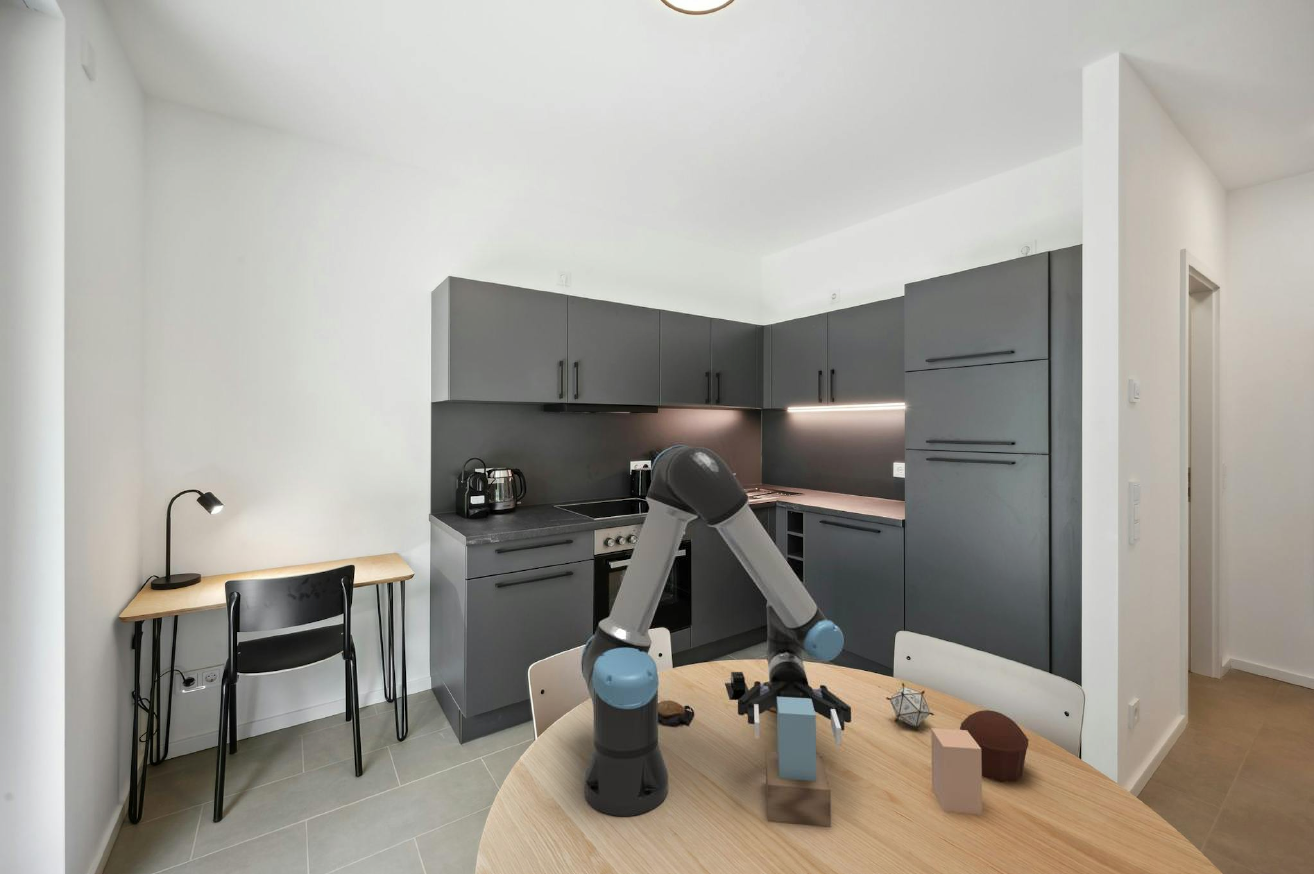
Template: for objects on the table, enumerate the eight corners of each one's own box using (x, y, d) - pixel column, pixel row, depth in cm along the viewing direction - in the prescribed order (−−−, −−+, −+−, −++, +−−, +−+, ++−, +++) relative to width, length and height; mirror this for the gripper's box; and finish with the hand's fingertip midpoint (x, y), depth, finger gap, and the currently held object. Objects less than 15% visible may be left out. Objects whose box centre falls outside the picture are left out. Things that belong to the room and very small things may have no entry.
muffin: (964, 745, 115) (964, 696, 115) (1029, 762, 109) (1029, 711, 109) (956, 774, 105) (956, 720, 105) (1027, 795, 99) (1027, 738, 99)
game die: (919, 741, 123) (950, 710, 121) (898, 738, 119) (929, 706, 116) (892, 705, 131) (920, 675, 128) (871, 702, 126) (900, 671, 124)
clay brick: (943, 811, 95) (943, 746, 95) (931, 789, 101) (931, 728, 101) (981, 814, 94) (981, 749, 94) (967, 792, 100) (967, 730, 100)
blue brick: (779, 778, 95) (778, 712, 95) (777, 758, 101) (776, 696, 101) (816, 781, 94) (815, 715, 94) (811, 760, 100) (811, 698, 100)
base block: (768, 820, 93) (767, 784, 93) (766, 783, 103) (765, 751, 103) (830, 826, 91) (830, 789, 91) (822, 788, 101) (822, 755, 101)
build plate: (756, 705, 134) (756, 685, 134) (726, 705, 134) (726, 686, 134) (747, 682, 147) (747, 664, 147) (719, 682, 147) (719, 664, 147)
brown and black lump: (642, 726, 125) (642, 709, 125) (651, 708, 133) (651, 692, 133) (689, 731, 122) (689, 714, 122) (696, 712, 131) (696, 697, 131)
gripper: (726, 657, 117) (722, 706, 96) (850, 663, 113) (874, 715, 92) (727, 693, 117) (723, 750, 96) (851, 700, 113) (875, 761, 92)
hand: (797, 733), depth 94 cm, fingers open, 13 cm apart
